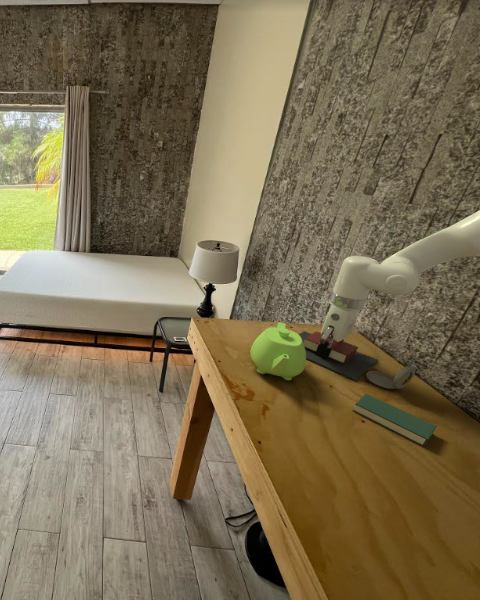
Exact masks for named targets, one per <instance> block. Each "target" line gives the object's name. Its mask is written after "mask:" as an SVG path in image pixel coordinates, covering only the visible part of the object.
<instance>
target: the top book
mask: <svg viewBox="0 0 480 600" xmlns="http://www.w3.org/2000/svg"><path fill="white" fill-rule="evenodd" d="M321 337H322V335H321V331H317V330H316V331H314V332H313V333H311V335H310V336H308V337H307V338H305V340H304V343H303V344H304V347H305V348H307V349H310V350H312V351H314V352H316V350H317V347H318V345H319V342H320V340H321ZM329 337H331V335H330V336H329ZM331 338H333V337H331ZM327 341H328V342H329V343H330V341H331V340H330V339H328V340H327ZM331 348H332V350H331V352H330V355H329V358H331V359H333V360H336V361H338V362H340V363H343V364H345V363H346V362H347V361H349V360H350V359H351V358H352V357H353V356H355V353H356V351H357V352H358V348H359V346H357V345H355V344H354V345H353V344H351V343H350V342H349V343H348V342H346V341H345V340H344V341H340V342H337V341H336V340H335V341H334V343H333V344H332V346H331Z"/></svg>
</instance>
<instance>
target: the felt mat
mask: <svg viewBox="0 0 480 600" xmlns="http://www.w3.org/2000/svg"><path fill="white" fill-rule="evenodd" d="M311 334H312V333H310V332H308V331H306V330H304V331H302V332H300V333H298V335H299V336H300V337H301V339H302V341H303V343H304V340H305V338H307V337H308V336H310V335H311ZM305 352H306V361H308V362H311V363H313V364H316V365H318V366H319V367H322V368H324V369H327V370H328V371H331V372H333V373H336V374H338V375H340V376H342V377H345V379H346V378H347V379H349V380H351V381H353V382H357V381H358V380H359V379H360V378H361V377H363V375H364V374H366V373H367V372H369V370H370V369H371V368H372V367H373V366H374V365H376V363H377V362H378V361H379V359H377V358H375V357H373V356H369V355H367V354H365V353H362V352H359V351H358V350H357V351H356V353H355V356H353V357H352V358H351V359H350V360H349V361H347V362H346V363H345V364H343V363H340V362H338V361H336V360H333V359H331V358H329V357H328V359H327V360H326V359H323V358H321V357H319V356H316V355H315V353H316V352H314V351H312V350H310V349H307V348H305Z"/></svg>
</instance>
